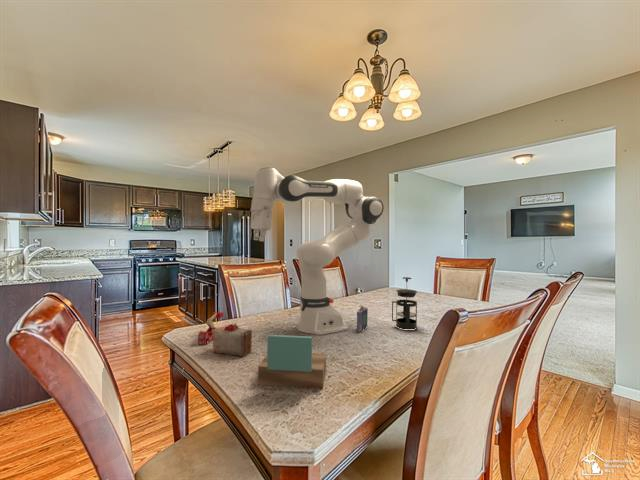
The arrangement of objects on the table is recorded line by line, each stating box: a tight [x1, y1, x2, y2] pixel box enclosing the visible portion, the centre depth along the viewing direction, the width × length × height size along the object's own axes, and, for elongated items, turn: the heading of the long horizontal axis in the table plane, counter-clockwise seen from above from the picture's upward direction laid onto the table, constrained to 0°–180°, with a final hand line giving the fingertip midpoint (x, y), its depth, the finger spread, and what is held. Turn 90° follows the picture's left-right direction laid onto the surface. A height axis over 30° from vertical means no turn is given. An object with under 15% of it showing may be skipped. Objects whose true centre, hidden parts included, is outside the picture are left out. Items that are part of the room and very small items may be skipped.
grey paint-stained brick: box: [211, 322, 253, 358], centre depth 104 cm, size 14×8×10 cm, turn 73°
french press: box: [391, 276, 418, 329], centre depth 134 cm, size 12×9×23 cm
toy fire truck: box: [197, 311, 225, 345], centre depth 117 cm, size 3×14×10 cm, turn 168°
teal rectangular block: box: [266, 334, 313, 372], centre depth 80 cm, size 1×12×9 cm, turn 84°
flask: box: [356, 304, 369, 333], centre depth 131 cm, size 9×3×11 cm, turn 151°
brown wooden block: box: [257, 352, 327, 389], centre depth 86 cm, size 11×18×5 cm, turn 84°
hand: (258, 240), depth 121 cm, fingers open, 8 cm apart
